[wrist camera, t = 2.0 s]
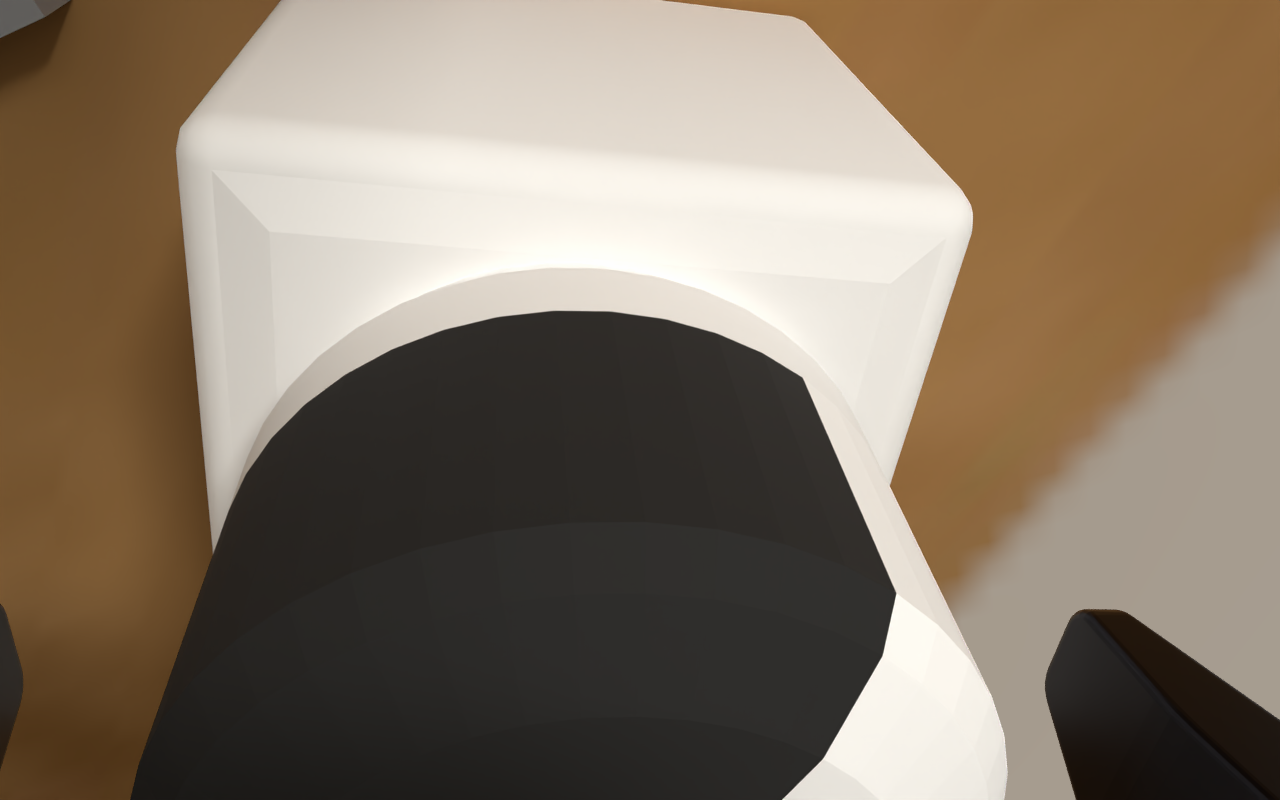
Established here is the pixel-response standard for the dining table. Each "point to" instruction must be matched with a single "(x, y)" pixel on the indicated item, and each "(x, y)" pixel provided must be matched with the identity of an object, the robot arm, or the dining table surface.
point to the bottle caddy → (24, 13)
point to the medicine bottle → (562, 417)
